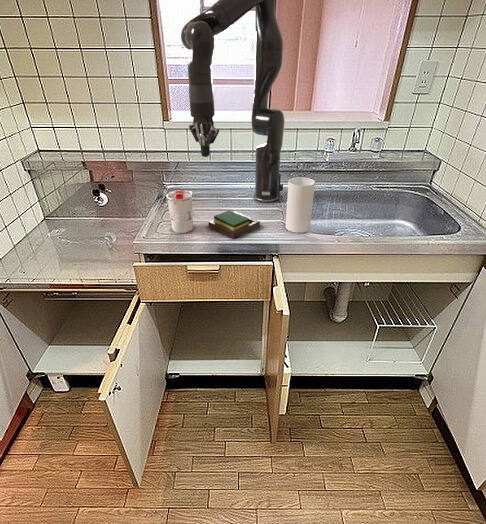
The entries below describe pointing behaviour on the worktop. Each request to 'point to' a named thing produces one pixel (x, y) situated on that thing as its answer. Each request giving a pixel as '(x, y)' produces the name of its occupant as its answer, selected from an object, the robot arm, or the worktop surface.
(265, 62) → the robot arm
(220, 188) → the worktop surface
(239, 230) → the sponge rack
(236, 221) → the sponge
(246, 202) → the worktop surface
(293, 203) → the cup
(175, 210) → the white canister
